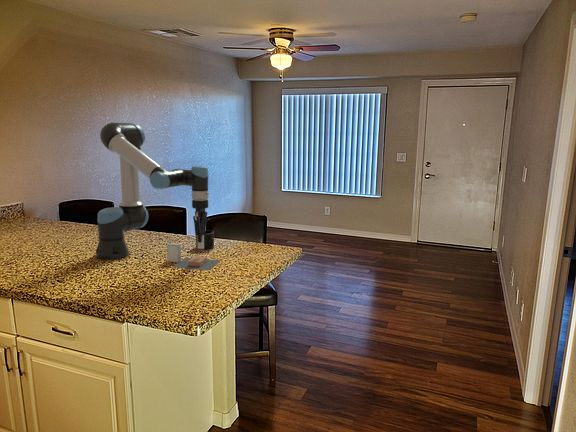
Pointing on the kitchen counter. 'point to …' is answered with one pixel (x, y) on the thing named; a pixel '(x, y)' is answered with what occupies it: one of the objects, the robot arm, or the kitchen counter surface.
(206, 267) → the mat
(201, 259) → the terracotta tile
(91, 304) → the kitchen counter surface
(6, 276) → the kitchen counter surface
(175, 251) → the grey tile
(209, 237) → the mug
